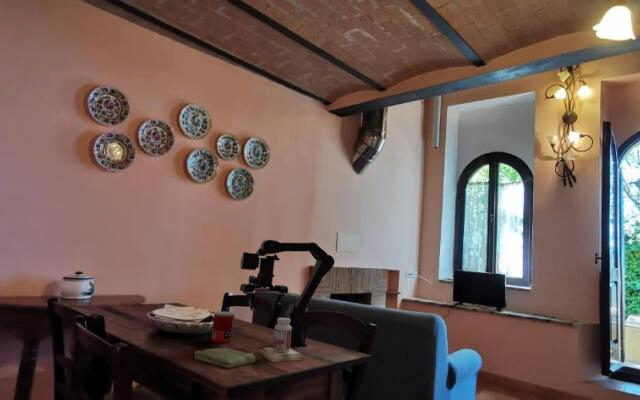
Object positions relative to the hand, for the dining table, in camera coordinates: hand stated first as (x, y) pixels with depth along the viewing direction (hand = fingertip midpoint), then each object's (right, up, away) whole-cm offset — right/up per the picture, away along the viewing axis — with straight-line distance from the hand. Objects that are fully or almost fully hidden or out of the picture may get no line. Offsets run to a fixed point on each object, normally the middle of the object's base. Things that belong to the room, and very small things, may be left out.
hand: (262, 310), depth 167 cm
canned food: (-16, -12, -1) cm, 20 cm away
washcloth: (-9, -10, -28) cm, 31 cm away
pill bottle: (+9, -10, -17) cm, 22 cm away
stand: (+9, -12, -17) cm, 23 cm away
